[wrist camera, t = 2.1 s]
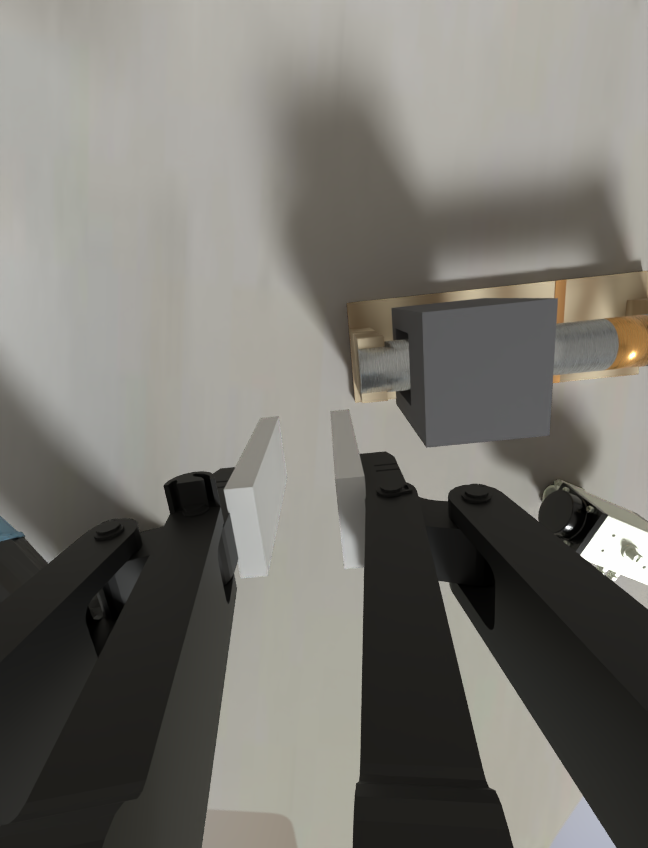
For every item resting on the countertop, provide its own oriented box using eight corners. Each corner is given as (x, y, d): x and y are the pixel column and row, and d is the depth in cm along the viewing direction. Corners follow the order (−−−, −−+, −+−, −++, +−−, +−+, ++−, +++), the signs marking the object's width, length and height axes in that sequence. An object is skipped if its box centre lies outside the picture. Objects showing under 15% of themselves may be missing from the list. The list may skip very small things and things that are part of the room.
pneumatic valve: (528, 459, 46) (597, 513, 34) (616, 496, 47) (710, 560, 36) (502, 500, 47) (560, 565, 36) (588, 535, 49) (670, 608, 37)
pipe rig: (354, 400, 44) (364, 433, 33) (346, 303, 41) (354, 304, 30) (631, 372, 43) (731, 396, 32) (643, 271, 40) (757, 261, 29)
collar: (396, 403, 38) (426, 447, 27) (391, 307, 35) (422, 312, 24) (483, 395, 38) (549, 435, 27) (484, 297, 35) (557, 298, 24)
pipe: (358, 388, 35) (363, 400, 31) (355, 341, 34) (359, 347, 30) (704, 353, 34) (751, 360, 31) (712, 304, 33) (763, 305, 29)
